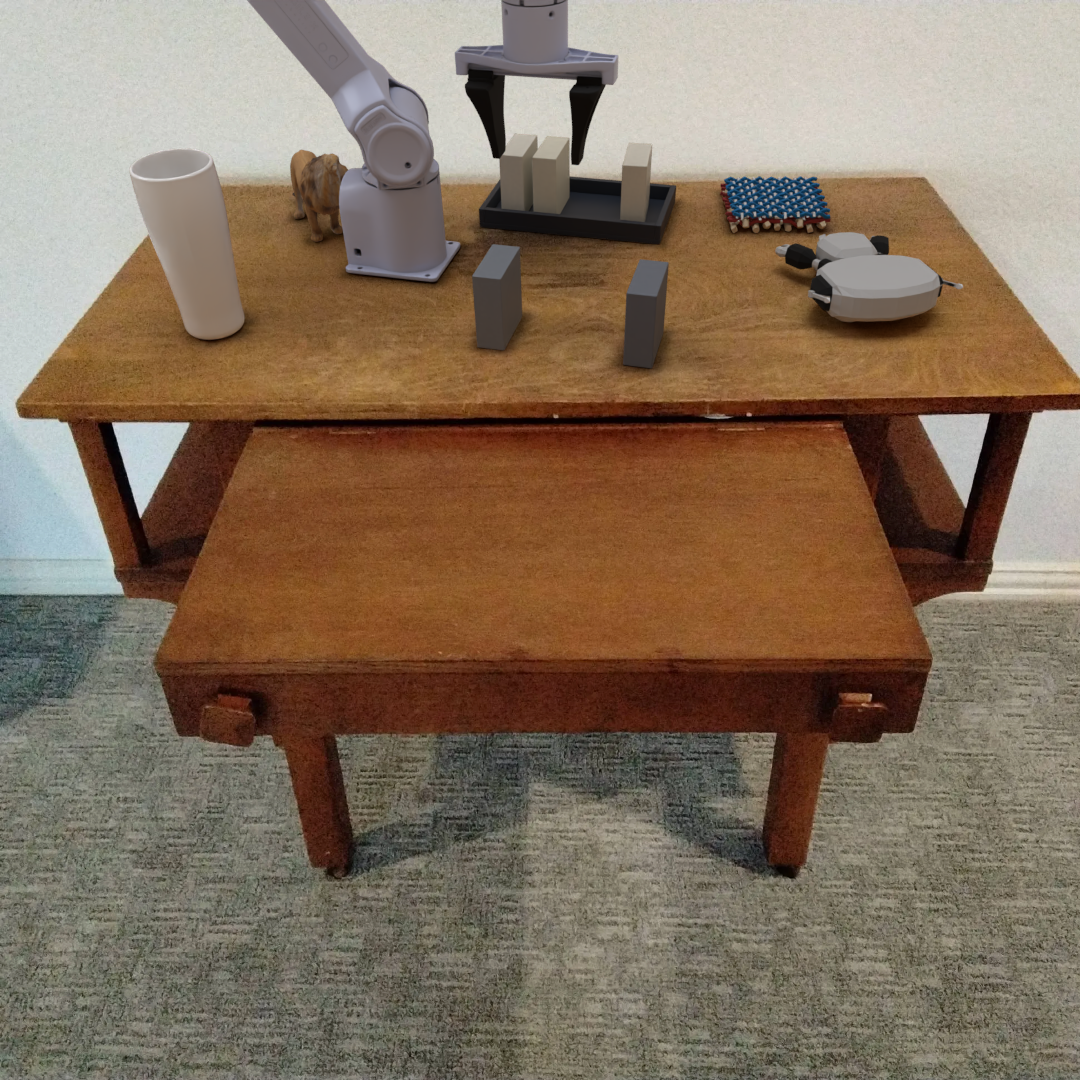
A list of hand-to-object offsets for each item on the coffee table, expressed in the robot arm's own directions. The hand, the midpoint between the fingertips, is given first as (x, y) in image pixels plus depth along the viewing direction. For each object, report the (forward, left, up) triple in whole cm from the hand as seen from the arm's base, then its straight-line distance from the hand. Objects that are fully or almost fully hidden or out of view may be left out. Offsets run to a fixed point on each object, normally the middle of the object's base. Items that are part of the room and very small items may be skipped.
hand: (537, 157), depth 92 cm
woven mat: (+22, +14, -10) cm, 28 cm away
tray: (+2, +9, -9) cm, 13 cm away
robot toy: (+31, -3, -10) cm, 33 cm away
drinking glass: (-25, -21, -10) cm, 34 cm away
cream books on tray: (-3, +9, -9) cm, 13 cm away
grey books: (+7, -16, -9) cm, 20 cm away
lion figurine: (-24, +1, -10) cm, 26 cm away
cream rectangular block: (+8, +9, -9) cm, 15 cm away
